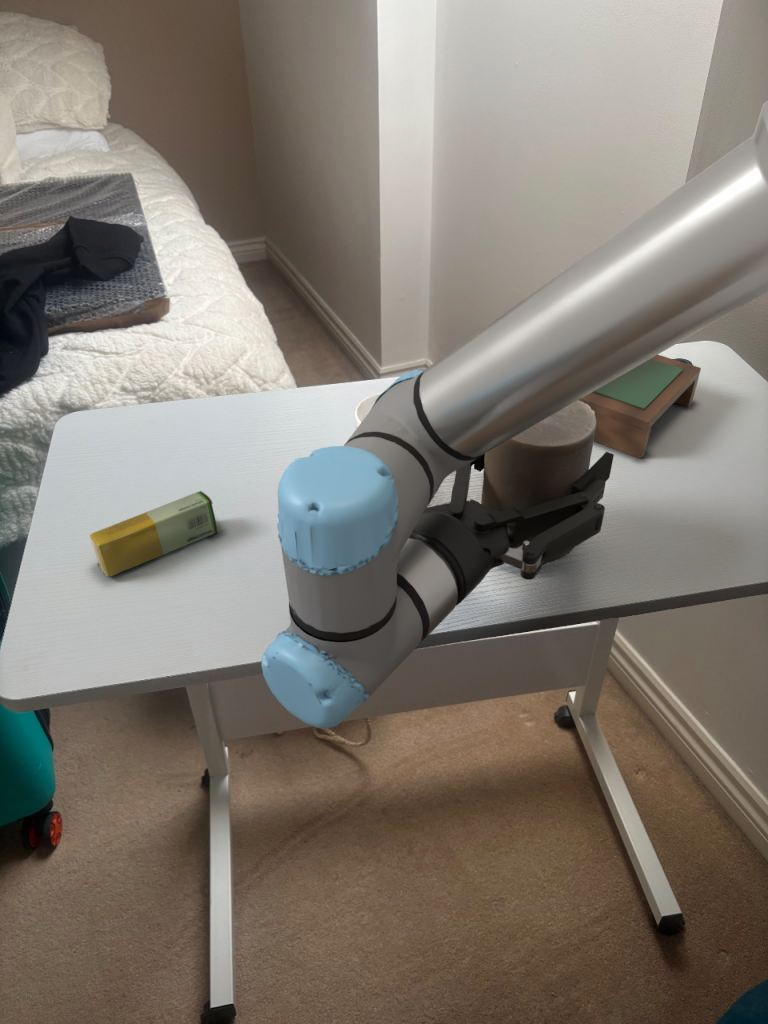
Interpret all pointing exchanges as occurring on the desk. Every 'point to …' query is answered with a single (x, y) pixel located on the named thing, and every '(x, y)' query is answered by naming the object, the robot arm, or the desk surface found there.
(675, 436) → the desk surface
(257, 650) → the desk surface
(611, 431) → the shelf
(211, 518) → the medication box
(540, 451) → the pillar candle
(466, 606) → the desk surface
